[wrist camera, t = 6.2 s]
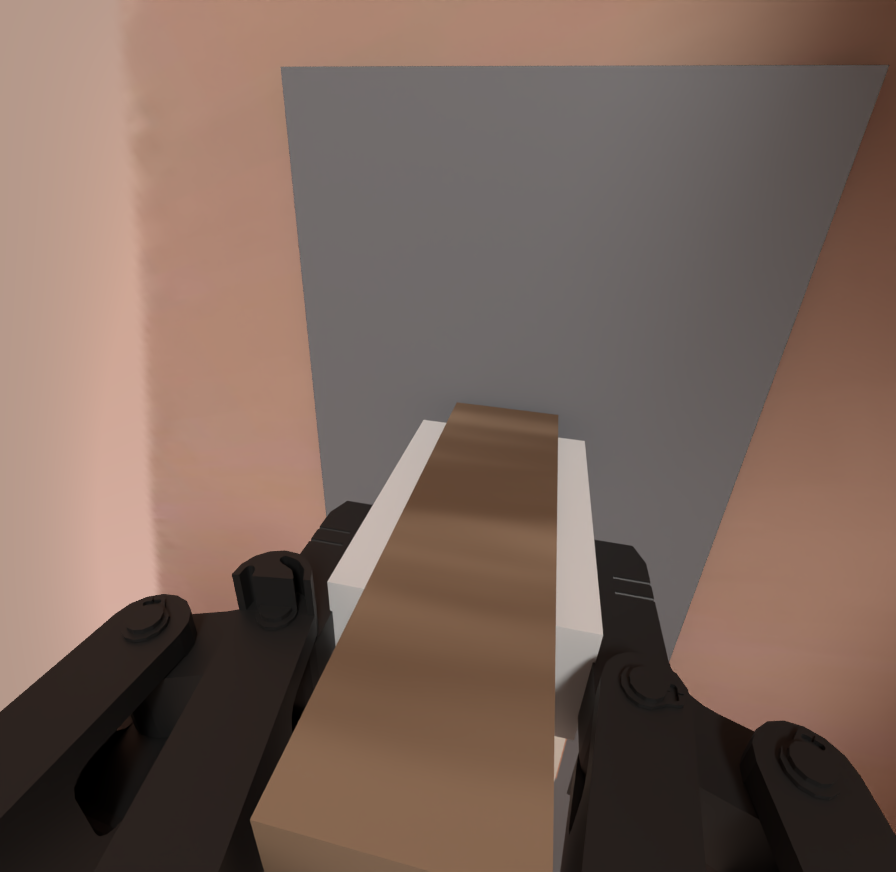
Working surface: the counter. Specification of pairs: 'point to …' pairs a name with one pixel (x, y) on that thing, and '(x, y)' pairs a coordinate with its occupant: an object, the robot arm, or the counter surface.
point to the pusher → (438, 678)
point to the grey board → (567, 271)
